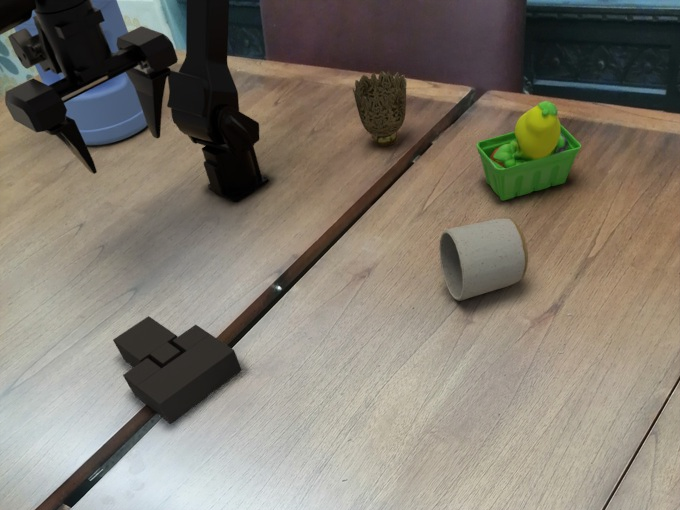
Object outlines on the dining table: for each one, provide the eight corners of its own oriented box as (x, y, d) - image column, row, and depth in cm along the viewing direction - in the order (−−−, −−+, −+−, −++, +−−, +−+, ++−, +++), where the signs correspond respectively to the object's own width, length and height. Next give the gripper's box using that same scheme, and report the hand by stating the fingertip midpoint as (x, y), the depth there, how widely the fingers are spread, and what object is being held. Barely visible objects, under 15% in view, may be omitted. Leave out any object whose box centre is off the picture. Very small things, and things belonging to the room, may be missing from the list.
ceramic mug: (530, 293, 78) (534, 231, 72) (463, 314, 77) (461, 254, 71) (492, 244, 84) (492, 184, 78) (429, 264, 84) (425, 204, 77)
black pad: (158, 336, 81) (148, 315, 79) (198, 364, 78) (189, 344, 75) (123, 359, 80) (112, 339, 77) (163, 390, 76) (152, 370, 74)
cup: (405, 155, 98) (400, 95, 92) (355, 155, 100) (347, 96, 93) (415, 128, 102) (410, 69, 96) (366, 128, 104) (359, 70, 97)
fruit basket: (552, 157, 94) (560, 66, 84) (583, 189, 89) (595, 96, 79) (474, 180, 93) (473, 91, 83) (501, 214, 88) (503, 123, 78)
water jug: (86, 102, 120) (-6, -108, 97) (170, 97, 117) (96, -120, 94) (49, 149, 111) (-61, -68, 89) (139, 146, 109) (49, -80, 86)
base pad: (204, 344, 80) (195, 323, 77) (242, 370, 76) (234, 349, 74) (133, 394, 76) (122, 374, 74) (170, 424, 73) (159, 404, 70)
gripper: (96, -43, 77) (150, 104, 90) (-57, 22, 70) (25, 170, 83) (152, -27, 72) (201, 126, 85) (-7, 45, 65) (72, 200, 78)
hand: (125, 154), depth 83 cm, fingers open, 9 cm apart
